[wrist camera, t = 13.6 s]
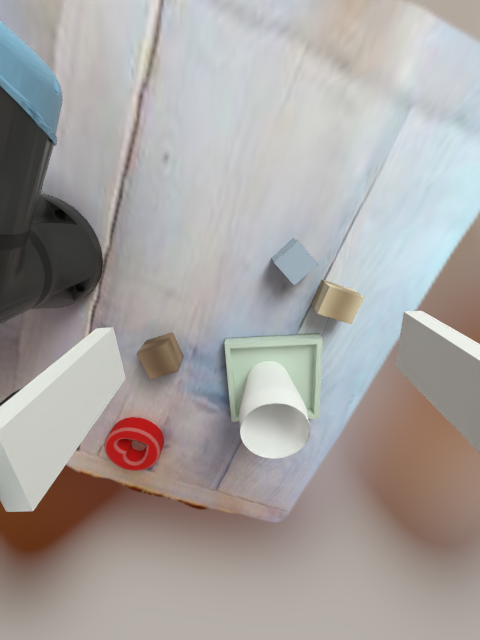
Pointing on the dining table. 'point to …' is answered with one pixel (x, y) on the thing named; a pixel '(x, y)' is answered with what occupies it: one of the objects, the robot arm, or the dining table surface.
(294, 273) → the slate blue block
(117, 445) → the decorative ornament
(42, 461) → the robot arm
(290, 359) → the tray
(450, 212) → the dining table surface
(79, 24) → the dining table surface
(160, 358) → the walnut block
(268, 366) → the cup
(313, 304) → the oak block
